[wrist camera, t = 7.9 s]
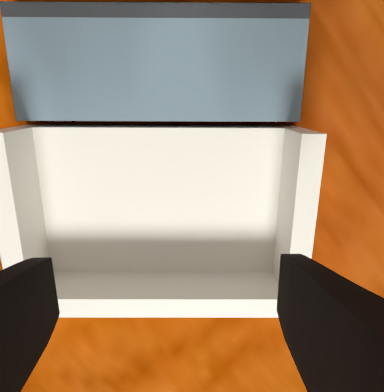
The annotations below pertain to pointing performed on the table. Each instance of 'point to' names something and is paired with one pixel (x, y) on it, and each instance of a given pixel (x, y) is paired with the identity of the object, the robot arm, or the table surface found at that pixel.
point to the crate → (160, 214)
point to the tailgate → (156, 60)
